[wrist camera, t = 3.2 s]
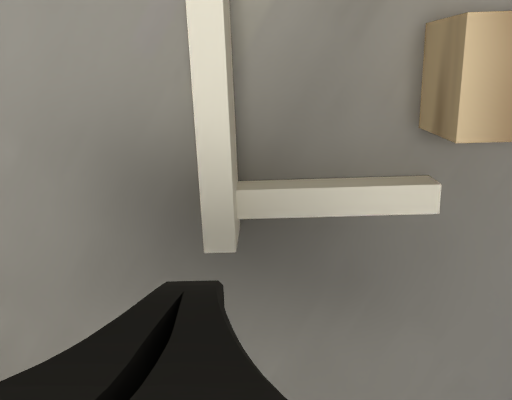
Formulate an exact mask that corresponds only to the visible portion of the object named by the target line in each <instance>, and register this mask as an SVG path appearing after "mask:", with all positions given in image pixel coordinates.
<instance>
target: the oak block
mask: <svg viewBox="0 0 512 400" xmlns="http://www.w3.org/2000/svg"><path fill="white" fill-rule="evenodd" d="M419 128H421V129H423V130H426V131H428V132H431V133H433V134H435V135H438V136H440V137H442V138H445V139H447V140H449V141H452V142H454V143H483V142H512V11H494V12H467V13H464V14H460V15H456V16H452V17H448V18H444V19H440V20H436V21H433V22H429V23H426V30H425V45H424V60H423V75H422V90H421V105H420V120H419Z"/></svg>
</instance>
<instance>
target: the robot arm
mask: <svg viewBox="0 0 512 400" xmlns="http://www.w3.org/2000/svg"><path fill="white" fill-rule="evenodd" d="M0 400H287V399H286V398H285V397H284V396H283V395H282V394H281V393H280V392H279V391H278V390H277V389H276V388H275V387H274V386H273V385H272V384H271V383H270V382H269V381H268V380H267V379H266V378H265V377H264V376H263V375H262V373H261V372H260V371H259V370H258V368H257V367H256V366H255V365H254V363H253V362H252V360H251V359H250V358H249V356H248V355H247V353H246V352H245V350H244V349H243V347H242V345H241V344H240V342H239V340H238V338H237V336H236V334H235V333H234V331H233V328H232V326H231V324H230V322H229V319H228V317H227V314H226V311H225V308H224V292H223V285H222V284H221V283H220V282H219V281H177V282H166V283H164V284H162V285H161V286H160V287H158V288H157V289H155V290H154V291H153V292H151V293H150V294H149V295H147V296H146V297H145V298H143V299H142V300H141V301H139V302H138V303H137V304H135V305H134V306H133V307H131V308H130V309H129V310H127V311H126V312H125V313H123V314H122V315H121V316H119V317H118V318H116V319H115V320H113V321H112V322H110V323H109V324H107V325H106V326H104V327H103V328H101V329H100V330H98V331H97V332H95V333H94V334H92V335H91V336H89V337H88V338H86V339H84V340H83V341H81V342H79V343H78V344H76V345H74V346H73V347H71V348H69V349H67V350H65V351H64V352H62V353H60V354H58V355H56V356H54V357H52V358H50V359H49V360H47V361H45V362H43V363H41V364H39V365H36V366H34V367H32V368H30V369H27V370H25V371H23V372H21V373H18V374H16V375H14V376H12V377H9V378H7V379H5V380H3V381H0Z"/></svg>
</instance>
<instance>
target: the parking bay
mask: <svg viewBox="0 0 512 400" xmlns="http://www.w3.org/2000/svg"><path fill="white" fill-rule="evenodd" d="M186 12H187V25H188V39H189V53H190V67H191V80H192V94H193V108H194V121H195V135H196V149H197V163H198V176H199V190H200V204H201V218H202V231H203V245H204V253H231V252H236V249H237V243H238V237H239V231H240V219H266V218H303V217H340V216H377V215H414V214H439V210H440V198H441V185H442V184H440V183H439V182H437V181H436V180H434V179H433V178H432V177H430V176H429V175H428V176H394V177H361V178H327V179H293V180H259V181H238V167H237V146H236V126H235V105H234V84H233V63H232V43H231V22H230V1H229V0H186Z"/></svg>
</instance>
